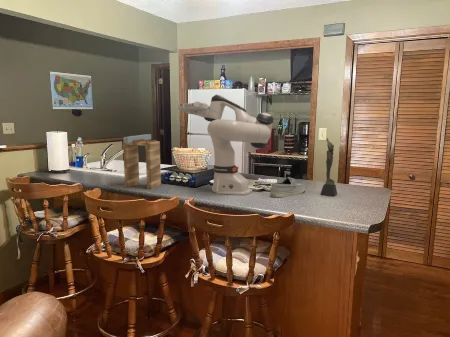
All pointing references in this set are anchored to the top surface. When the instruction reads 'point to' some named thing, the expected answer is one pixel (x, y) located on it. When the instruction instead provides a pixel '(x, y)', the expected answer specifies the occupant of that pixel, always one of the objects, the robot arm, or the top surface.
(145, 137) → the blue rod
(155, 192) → the top surface
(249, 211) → the top surface
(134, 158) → the oak bridge
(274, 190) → the boat shoe
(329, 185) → the statue
